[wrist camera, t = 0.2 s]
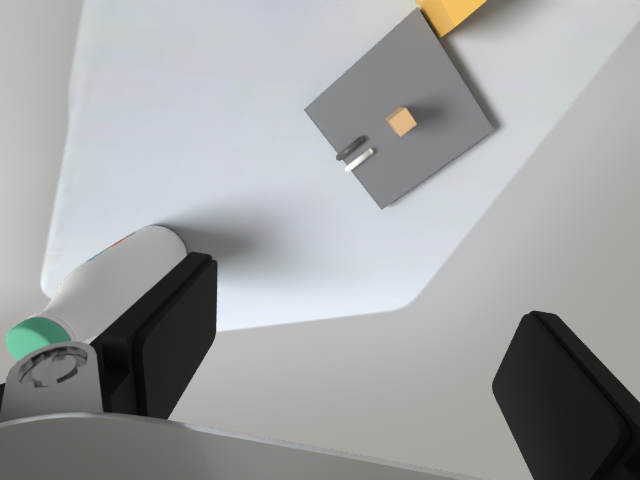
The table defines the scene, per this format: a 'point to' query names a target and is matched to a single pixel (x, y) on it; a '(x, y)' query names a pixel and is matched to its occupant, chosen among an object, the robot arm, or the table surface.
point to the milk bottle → (100, 290)
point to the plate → (415, 91)
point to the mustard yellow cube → (447, 13)
